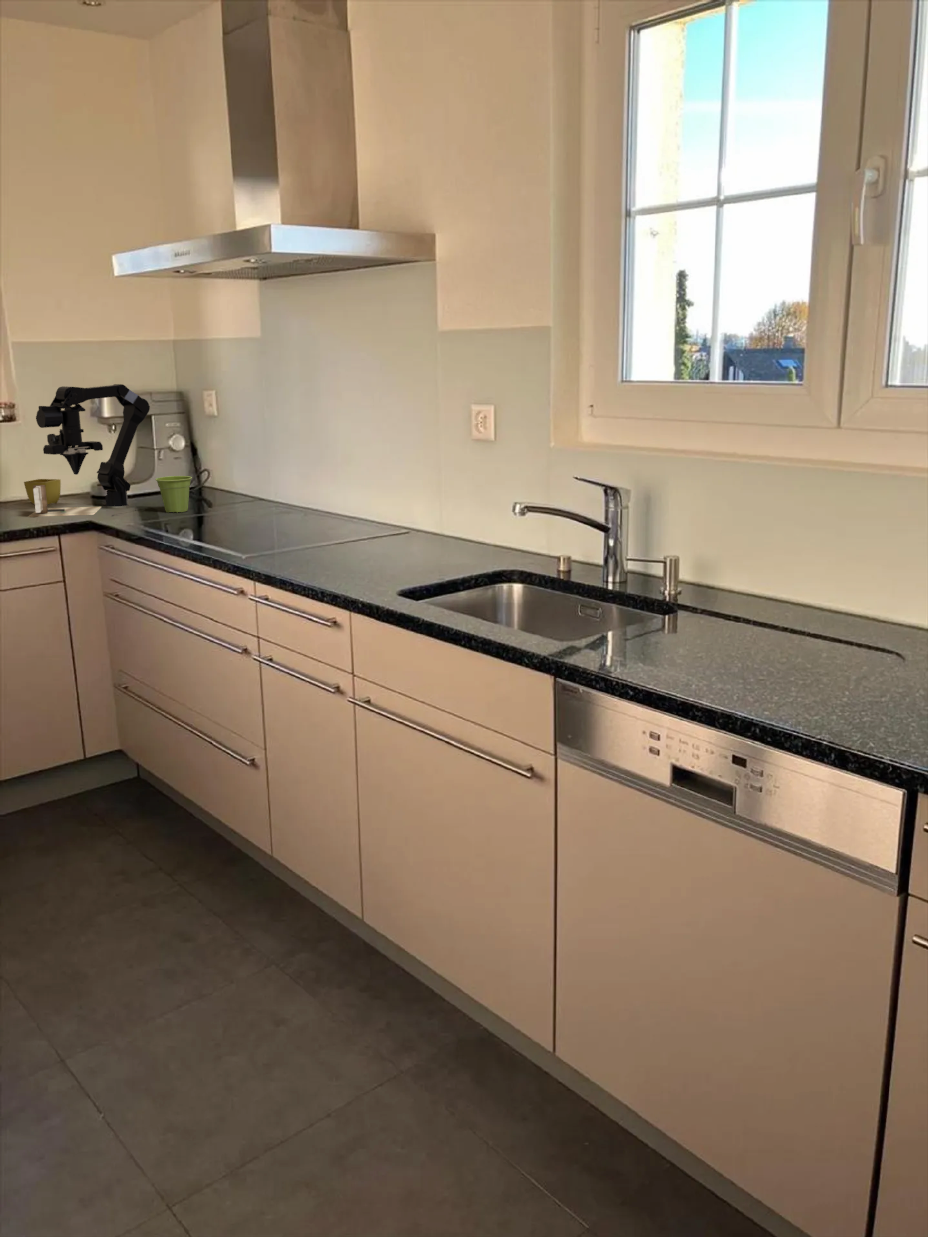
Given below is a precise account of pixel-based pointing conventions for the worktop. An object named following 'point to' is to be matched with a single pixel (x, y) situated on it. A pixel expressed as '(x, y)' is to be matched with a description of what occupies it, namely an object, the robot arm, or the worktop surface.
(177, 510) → the plant pot
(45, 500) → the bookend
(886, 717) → the worktop surface
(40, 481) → the flower pot
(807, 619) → the worktop surface
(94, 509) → the board
